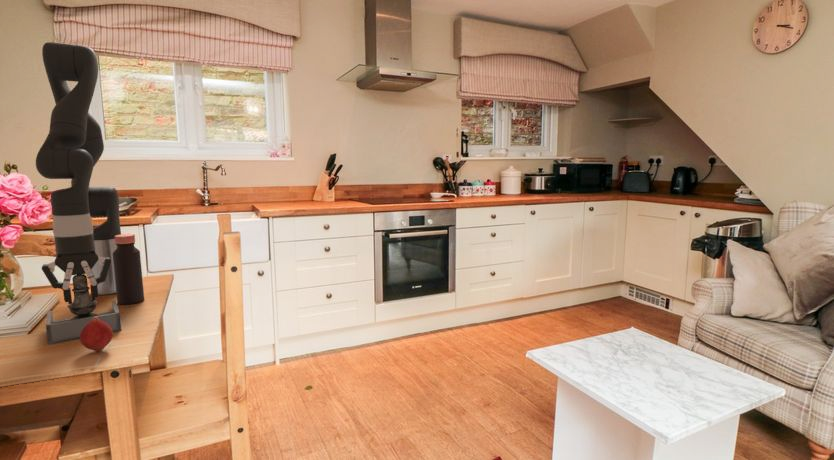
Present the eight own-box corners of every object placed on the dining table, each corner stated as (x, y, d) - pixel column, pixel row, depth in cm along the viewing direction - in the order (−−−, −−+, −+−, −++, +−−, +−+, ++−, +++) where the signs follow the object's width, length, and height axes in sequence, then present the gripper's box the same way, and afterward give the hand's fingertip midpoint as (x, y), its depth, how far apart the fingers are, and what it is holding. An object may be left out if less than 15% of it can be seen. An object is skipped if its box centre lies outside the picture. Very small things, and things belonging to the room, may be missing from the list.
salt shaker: (87, 322, 107) (81, 273, 106) (63, 321, 108) (57, 273, 106) (104, 313, 113) (99, 267, 111) (81, 313, 113) (76, 267, 111)
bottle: (115, 306, 128) (108, 237, 125) (119, 299, 134) (113, 234, 131) (142, 303, 131) (136, 236, 128) (146, 296, 137) (140, 232, 134)
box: (49, 328, 111) (47, 311, 110) (117, 316, 120) (115, 300, 119) (48, 344, 102) (45, 325, 101) (121, 330, 110) (119, 312, 109)
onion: (78, 359, 94) (74, 323, 93) (86, 348, 100) (82, 314, 98) (111, 354, 97) (107, 319, 96) (116, 344, 102) (113, 310, 101)
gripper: (108, 228, 114) (115, 292, 117) (36, 233, 106) (45, 303, 108) (110, 232, 108) (117, 299, 111) (34, 238, 100) (43, 311, 102)
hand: (81, 301), depth 110 cm, fingers closed on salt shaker, 4 cm apart
